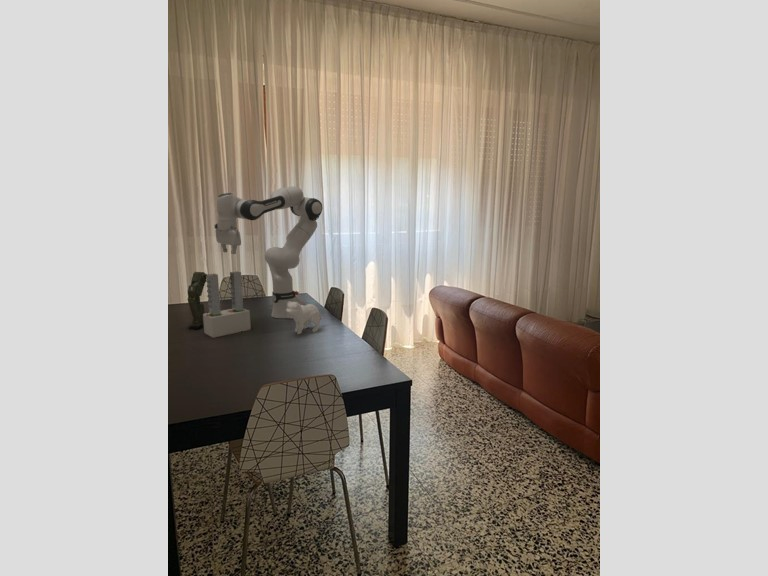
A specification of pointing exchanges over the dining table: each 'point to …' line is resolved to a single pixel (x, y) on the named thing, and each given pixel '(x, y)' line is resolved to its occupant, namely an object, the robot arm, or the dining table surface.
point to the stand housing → (226, 323)
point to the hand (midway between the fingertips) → (229, 253)
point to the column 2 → (236, 291)
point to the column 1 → (213, 295)
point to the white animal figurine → (303, 315)
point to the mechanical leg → (196, 299)
